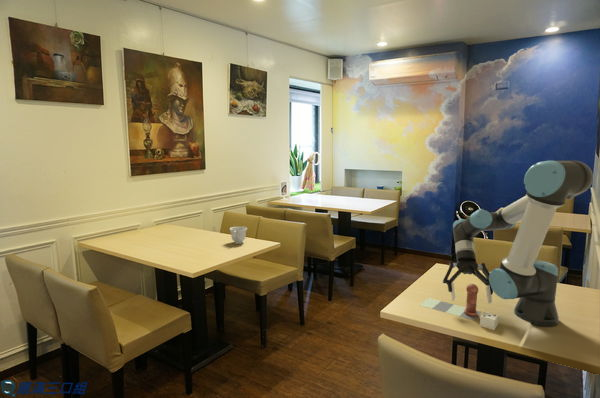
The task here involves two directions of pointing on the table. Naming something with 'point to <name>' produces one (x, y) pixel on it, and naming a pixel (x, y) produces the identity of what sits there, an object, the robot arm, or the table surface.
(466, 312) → the brown tall rounded piece
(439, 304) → the game board
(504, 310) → the table surface
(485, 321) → the die
